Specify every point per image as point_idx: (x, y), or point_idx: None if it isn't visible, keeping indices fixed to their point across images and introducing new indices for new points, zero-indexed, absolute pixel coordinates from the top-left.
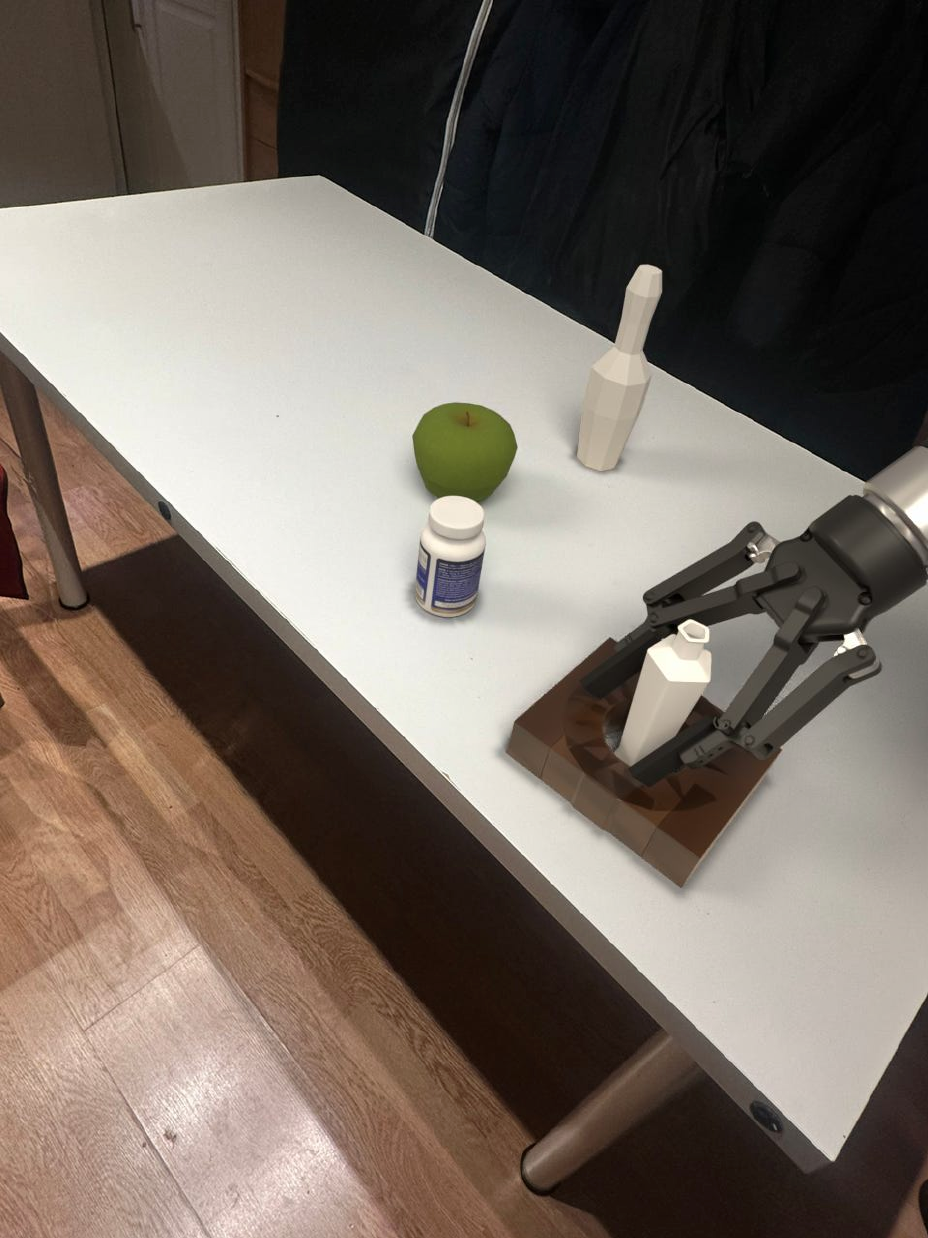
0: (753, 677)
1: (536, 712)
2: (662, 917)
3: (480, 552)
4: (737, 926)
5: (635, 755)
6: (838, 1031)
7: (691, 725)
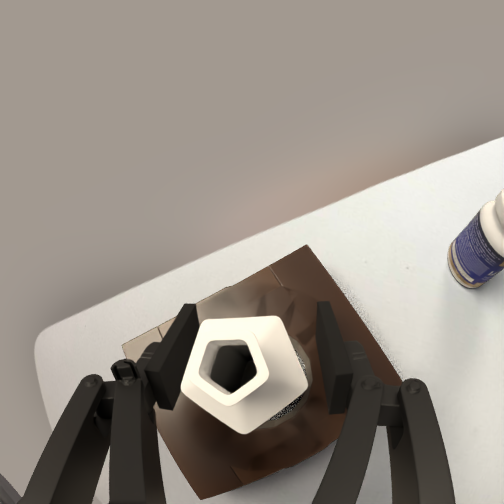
0: (135, 442)
1: (313, 267)
2: (133, 326)
3: (494, 246)
4: (110, 373)
5: (245, 358)
6: (53, 383)
7: (167, 355)
